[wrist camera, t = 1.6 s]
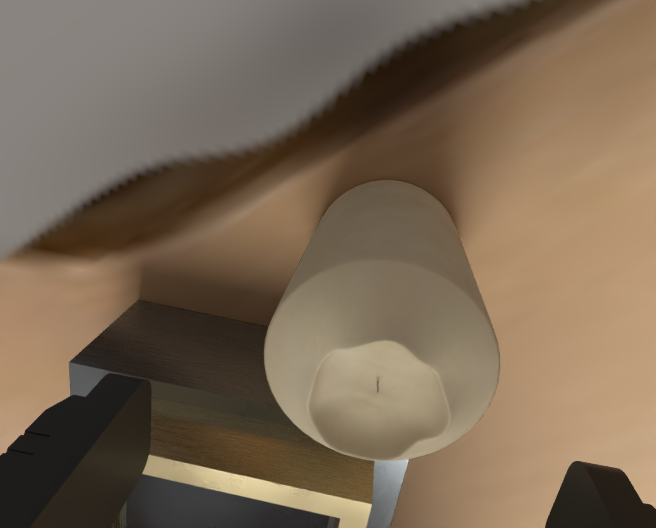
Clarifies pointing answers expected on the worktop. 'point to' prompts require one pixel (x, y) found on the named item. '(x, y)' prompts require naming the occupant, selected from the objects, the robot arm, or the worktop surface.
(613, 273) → the worktop surface
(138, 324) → the grey open box
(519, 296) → the worktop surface
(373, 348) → the candle
